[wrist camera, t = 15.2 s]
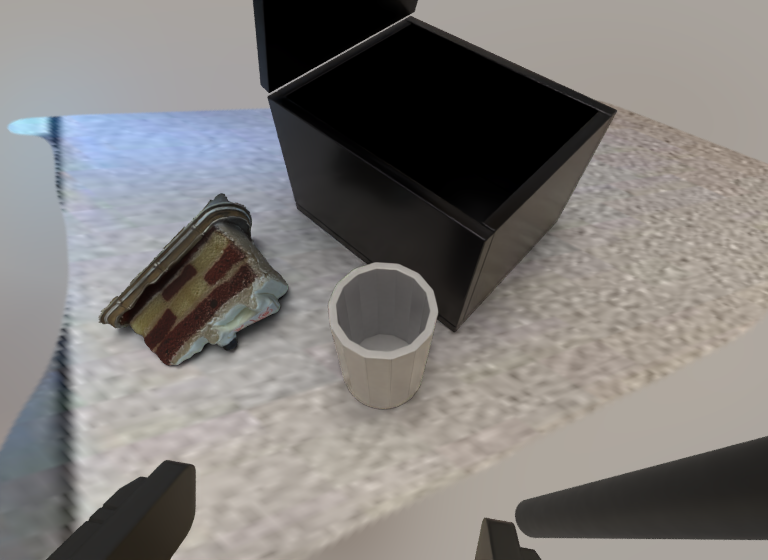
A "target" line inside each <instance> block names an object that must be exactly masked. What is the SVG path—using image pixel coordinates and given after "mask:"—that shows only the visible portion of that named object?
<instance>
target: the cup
mask: <svg viewBox="0 0 768 560" xmlns="http://www.w3.org/2000/svg"><path fill="white" fill-rule="evenodd" d="M328 313H329V325H330V329H331V333H332V336H333V340H334V344H335V348H336V352H337V356H338V359H339V363H340V367H341V371H342V375H343V378H344V381H345V383H346V385H347V387H348V389H349V391H350V392H351V394H352V395H353V396H354V397H355V398H356V399H357V400H358V401H360V402H361V403H363V404H365V405H367V406H369V407H373V408H378V409H389V408H394V407H397V406H400V405H402V404H404V403H406V402H407V401H408V400H410V399H411V398H412V397H413V396H414V394H415V393H416V392H417V390H418V389H419V387H420V385H421V382H422V378H423V374H424V371H425V367H426V362H427V358H428V354H429V350H430V346H431V341H432V337H433V333H434V329H435V325H436V320H437V316H438V307H437V303H436V299H435V295H434V291H433V289H432V288H431V287H430V286H429V285H428V284H427V282H426V281H425V280H424V279H423V278H422V277H421V275H420V274H418V273H417V272H415V271H413V270H410V269H408V268H406V267H404V266H402V265H400V264H394V263H379V262H376V263H372V264H369V265H365V266H362V267H359V268H356V269H354V270H352V271H351V272H350V273H349V274H348V275H346V276H345V277H344V278H343V279H342V280H341V281H339V282H338V283H337V284H336V286H335V289H334V291H333V293H332V295H331V298H330V300H329V302H328Z"/></svg>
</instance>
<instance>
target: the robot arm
mask: <svg viewBox="0 0 768 560" xmlns="http://www.w3.org/2000/svg"><path fill="white" fill-rule="evenodd" d="M195 507H196V470H195V466H194V465H192V464H187V463H181V462H175V461H170V460H166V461H164V462H163V463H161V464H160V465H159V466H158V467H157V468H156V469H155V470H154V471H153V473H152V474H151V475H150V476H149V477H148V478H146V477H139V478H137V479H136V480H134V481H132V482H130V483H129V484H127V485H125V486H123V487H122V488H120V489H119V490H118V491H117V492H116V493H115V494H114V495H113V496H112V497H111V498H109V499H108V500H107V501H106V502H105V503H104V504H103V507H102V508H99V509H98V510H97V511H96V512H95V513H94V514H93V515H92V516H91V517H90V519H89V521H86V522H85V523H84V524H83V525H82V526H80V527H79V528H78V529H77V530H76V531H75V532H74V533H73V534H72V535H71V536H70V537H69V538H68V539H67V540H66V541H65V542H64V543H63V544H62V545H61V546H60V547H59V548H58V549H57V550H56V551H55V552H54V553H52V554H51V555H50V556H49V557H48V558H47V559H46V560H170V559H171V557H172V556H173V554H174V553H175V552H176V550H177V549H178V547H179V546H180V544H181V543H182V542H183V540H184V539H185V537H186V536H187V534H188V532H189V530H190V528H191V526H192V523H193V520H194V516H195ZM475 560H541V558H540V557H539V556H538V554H537V553H536V551H535V550H533V549H528V548H522V547H520V545H519V541H518V537H517V533H516V529H515V526H514V524H513V523H512V522H506V521H500V520H495V519H490V518H484V519H483V521H482V526H481V531H480V536H479V541H478V546H477V551H476V556H475Z"/></svg>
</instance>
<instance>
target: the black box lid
mask: <svg viewBox="0 0 768 560" xmlns="http://www.w3.org/2000/svg"><path fill="white" fill-rule="evenodd" d="M417 1H418V0H253V7H254V17H255V28H256V39H257V49H258V60H259V71H260V83H261V86H262V87H263V88H265V90H266V91H267V92H268V93H270V92H272V91H274V90H276V89H278V88H279V87H281V86H283V85H285V84H286V83H288V82H290V81H292V80H294V79H295V78H297V77H299V76H301V75H303V74H304V73H306V72H308V71H309V70H311V69H313V68H315V67H317V66H319V65H320V64H322V63H324V62H326V61H327V60H329V59H331V58H333V57H335V56H337V55H338V54H340V53H342V52H344V51H345V50H347V49H349V48H351V47H353V46H354V45H356V44H358V43H360V42H362V41H363V40H365V39H367V38H369V37H370V36H372V35H374V34H376V33H378V32H379V31H381V30H383V29H385V28H386V27H388V26H390V25H392V24H394V23H395V22H397V21H399V20H401V19H403V18H404V17H406V16H408V15H410V14H412V13H413V12H415V8H416V5H417Z"/></svg>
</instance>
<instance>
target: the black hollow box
mask: <svg viewBox="0 0 768 560" xmlns="http://www.w3.org/2000/svg"><path fill="white" fill-rule="evenodd" d="M268 101H269V105H270V109H271V112H272V116H273V120H274V123H275V127H276V131H277V135H278V138H279V142H280V146H281V150H282V153H283V157H284V161H285V165H286V168H287V172H288V176H289V180H290V183H291V187H292V191H293V195H294V198H295V202H296V206H297V209H299V210H300V211H301V212H302V213H304V214H305V215H306V216H308V217H309V218H310V219H311V220H313V221H314V222H315V223H316V224H318V225H319V226H320V227H321V228H323V229H324V230H325V231H327V232H328V233H329V234H330V235H332V236H333V237H334V238H335V239H337V240H338V241H339V242H341V243H342V244H343V245H344V246H346V247H347V248H348V249H349V250H351V251H352V252H353V253H354V254H356V255H357V256H358V257H360V258H361V259H362V260H363V261H365V262H366V263H367V264H368V265H369V264H372V263H376V262H379V263H394V264H400V265H402V266H404V267H406V268H408V269H410V270H413V271H415V272H417V273H418V274H420V275H421V277H422V278H423V279H424V280H425V281H426V282H427V284H428V285H429V286H430V287H431V288H432V289H433V291H434V295H435V299H436V303H437V307H438V316H437V319H438V320H439V321H441V322H442V323H443V324H444V325H446V326H447V327H448V328H449V329H451V330H452V331H453V332H455V331H456V330H457V329H458V328H459V327H460V326H461V325H462V324H463V323H464V322H465V320H466V319H467V318H468V317H469V316H470V315H471V314H472V313H473V312H474V311H475V310H476V309H477V307H478V306H479V305H480V304H481V303H482V302H483V301H484V300H485V299H486V298H487V297H488V296H489V294H490V293H491V292H492V291H493V290H494V289H495V288H496V287H497V286H498V285H499V284H500V283H501V281H502V280H503V279H504V278H505V277H506V276H507V275H508V274H509V273H510V272H511V271H512V270H513V268H514V267H515V266H516V265H517V264H518V263H519V262H520V261H521V260H522V259H523V258H524V257H525V255H526V254H527V253H528V252H529V251H530V250H531V249H532V248H533V247H534V246H535V245H536V244H537V242H538V241H539V240H540V239H541V238H542V237H543V236H544V235H545V234H546V233H547V232H548V231H549V229H550V228H551V227H552V226H553V225H554V224H555V223H556V222H557V220H558V219H559V217H560V215H561V213H562V211H563V210H564V208H565V206H566V204H567V202H568V200H569V199H570V197H571V195H572V193H573V191H574V189H575V188H576V186H577V184H578V182H579V180H580V178H581V177H582V175H583V173H584V171H585V169H586V167H587V166H588V164H589V162H590V160H591V158H592V156H593V155H594V153H595V151H596V149H597V147H598V145H599V144H600V142H601V140H602V138H603V136H604V134H605V133H606V131H607V129H608V127H609V125H610V123H611V122H612V120H613V118H614V116H615V114H616V112H617V110H616V109H614V108H611V107H609V106H607V105H605V104H603V103H600V102H598V101H596V100H594V99H592V98H589V97H587V96H585V95H583V94H581V93H578V92H576V91H574V90H572V89H570V88H568V87H565V86H563V85H561V84H559V83H556V82H554V81H552V80H550V79H548V78H546V77H543V76H541V75H539V74H537V73H535V72H532V71H530V70H528V69H526V68H524V67H522V66H519V65H517V64H515V63H513V62H511V61H508V60H506V59H504V58H502V57H500V56H497V55H495V54H493V53H491V52H489V51H486V50H484V49H482V48H480V47H478V46H476V45H473V44H471V43H469V42H467V41H465V40H462V39H460V38H458V37H456V36H454V35H451V34H449V33H447V32H444V31H443V30H440V29H438V28H436V27H434V26H432V25H429V24H427V23H425V22H423V21H421V20H418V19H416V18H414V17H412V16H409V17H408V18H406V19H404V20H402V21H401V22H399V23H397V24H395V25H393V26H392V27H390V28H388V29H386V30H385V31H383V32H381V33H379V34H378V35H376V36H374V37H372V38H370V39H369V40H367V41H365V42H363V43H361V44H360V45H358V46H356V47H354V48H352V49H351V50H349V51H347V52H346V53H344V54H342V55H340V56H338V57H337V58H335V59H333V60H331V61H329V62H328V63H326V64H324V65H322V66H320V67H319V68H317V69H315V70H314V71H312V72H310V73H308V74H307V75H305V76H303V77H301V78H299V79H297V80H296V81H294V82H292V83H290V84H288V85H287V86H285V87H283V88H281V89H280V90H278V92H275V93H273V94H271V95H269V96H268Z"/></svg>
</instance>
